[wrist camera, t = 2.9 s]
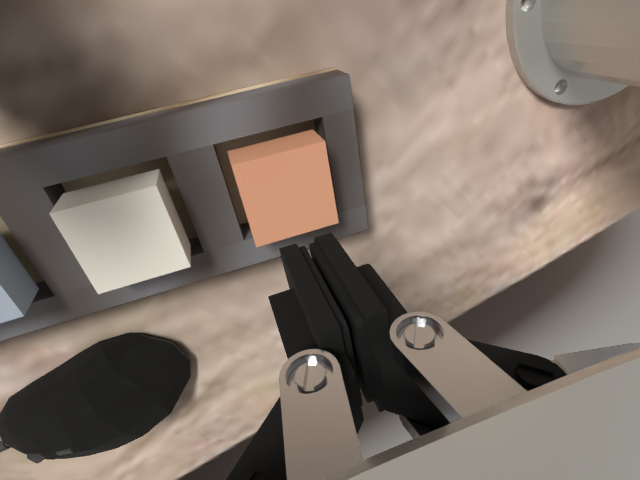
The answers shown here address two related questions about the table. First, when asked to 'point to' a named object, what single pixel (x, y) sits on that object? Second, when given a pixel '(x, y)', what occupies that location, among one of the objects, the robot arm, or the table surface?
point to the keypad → (172, 185)
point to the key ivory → (123, 230)
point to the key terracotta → (285, 186)
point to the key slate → (14, 285)
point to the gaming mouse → (96, 399)
